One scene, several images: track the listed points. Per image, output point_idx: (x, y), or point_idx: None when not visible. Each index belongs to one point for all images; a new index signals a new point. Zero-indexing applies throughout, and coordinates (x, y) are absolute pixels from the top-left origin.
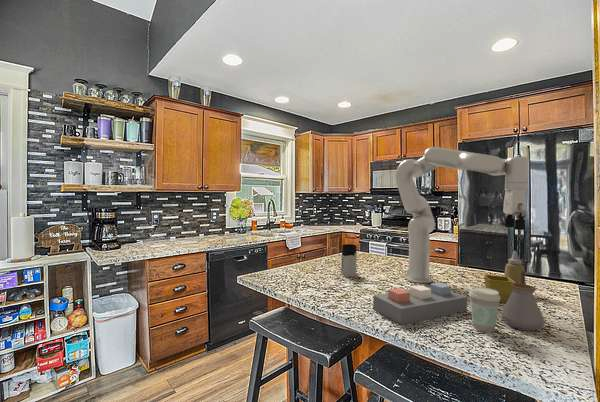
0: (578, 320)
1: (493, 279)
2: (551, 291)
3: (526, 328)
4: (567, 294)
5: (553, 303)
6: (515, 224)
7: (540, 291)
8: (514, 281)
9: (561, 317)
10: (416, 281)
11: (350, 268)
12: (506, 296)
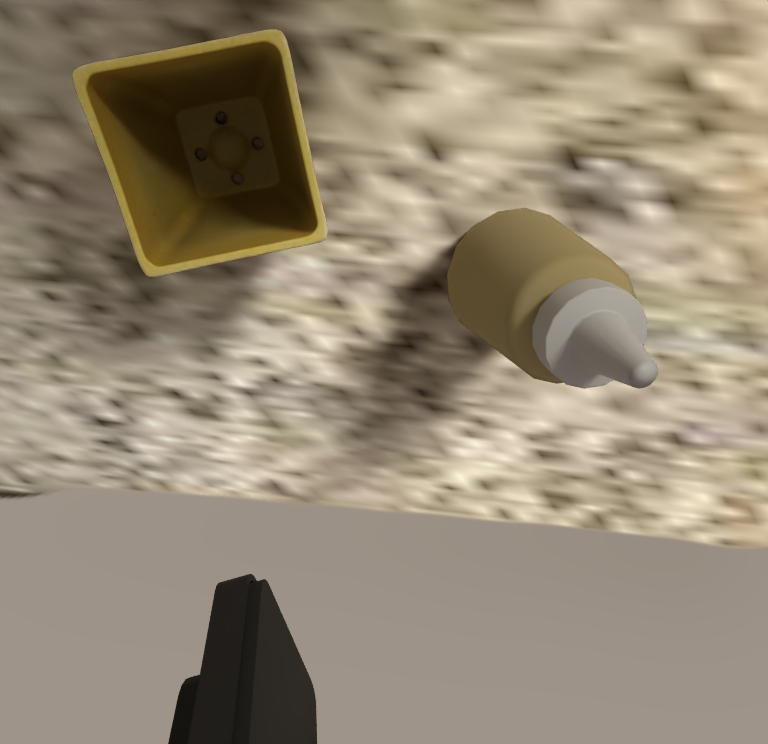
0: (130, 487)
1: (293, 120)
2: (614, 449)
3: None
4: (586, 505)
5: (366, 430)
6: (199, 693)
7: (588, 401)
8: (458, 281)
9: (122, 432)
10: None
11: None
12: (167, 200)
